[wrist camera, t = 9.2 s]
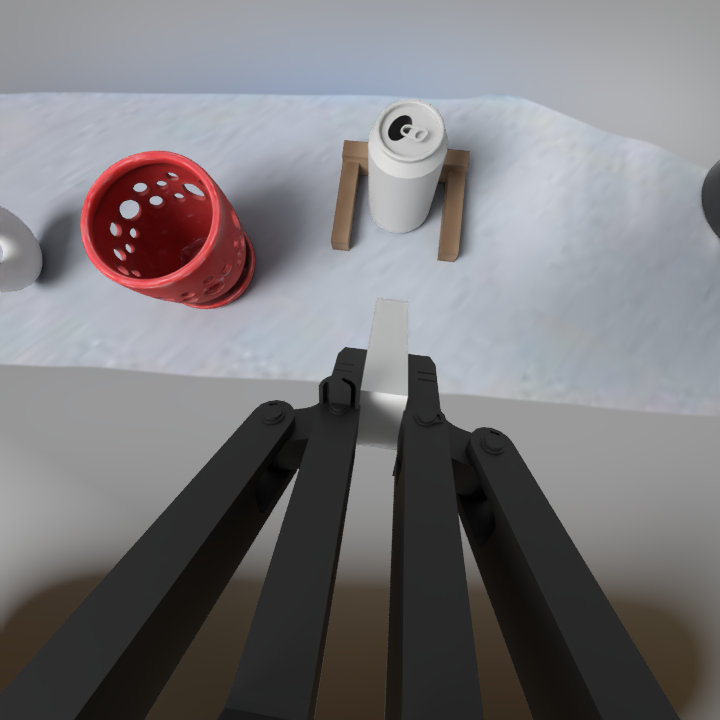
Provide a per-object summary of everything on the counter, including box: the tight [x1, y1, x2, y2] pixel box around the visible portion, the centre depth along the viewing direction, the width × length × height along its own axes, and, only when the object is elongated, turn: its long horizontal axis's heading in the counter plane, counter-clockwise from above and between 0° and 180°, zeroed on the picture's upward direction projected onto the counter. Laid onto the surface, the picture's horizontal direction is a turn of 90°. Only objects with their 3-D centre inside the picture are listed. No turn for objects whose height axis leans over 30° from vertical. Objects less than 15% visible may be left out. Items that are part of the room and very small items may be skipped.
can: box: [368, 99, 448, 233], centre depth 34 cm, size 8×8×12 cm
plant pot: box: [80, 151, 255, 309], centre depth 34 cm, size 13×13×12 cm
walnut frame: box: [331, 140, 470, 262], centre depth 38 cm, size 15×12×3 cm
